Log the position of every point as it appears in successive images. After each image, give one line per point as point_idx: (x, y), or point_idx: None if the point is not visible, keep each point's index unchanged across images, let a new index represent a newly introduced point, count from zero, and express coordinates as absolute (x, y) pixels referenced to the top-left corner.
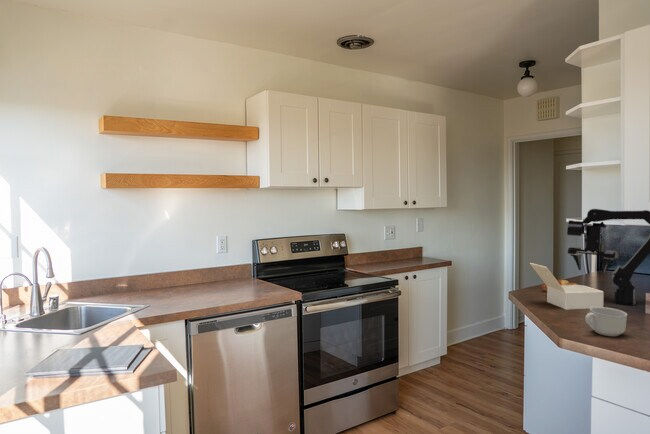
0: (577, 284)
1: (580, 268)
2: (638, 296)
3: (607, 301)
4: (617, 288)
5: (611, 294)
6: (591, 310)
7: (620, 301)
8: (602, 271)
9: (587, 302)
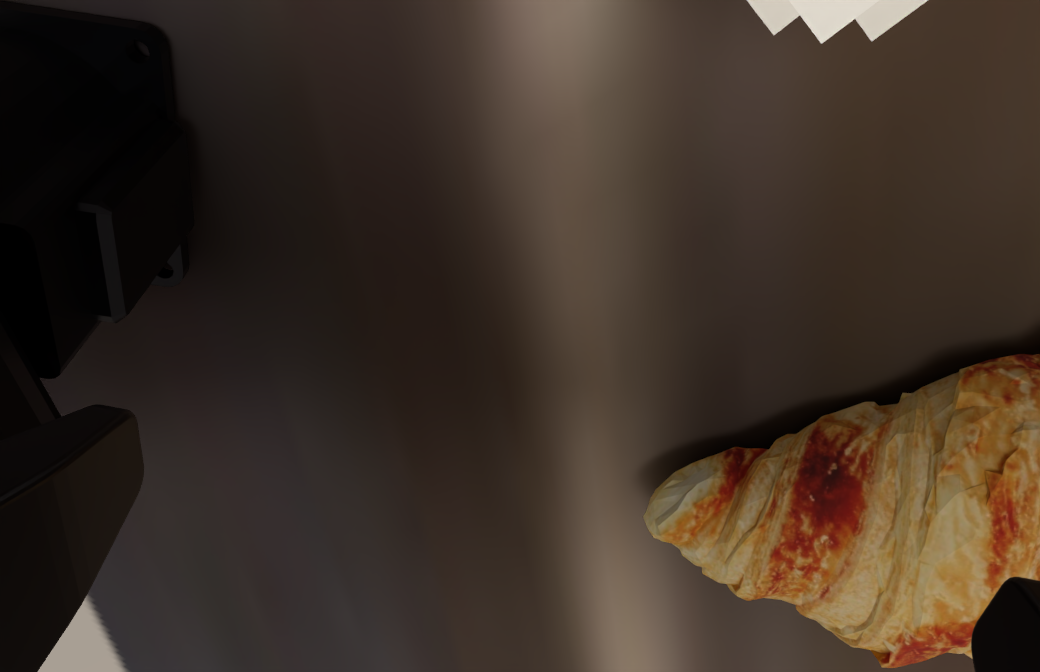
0: (877, 626)
1: (1013, 668)
2: (122, 649)
3: (326, 155)
4: (32, 283)
5: (405, 634)
6: None
7: (59, 58)
8: (65, 435)
9: None
